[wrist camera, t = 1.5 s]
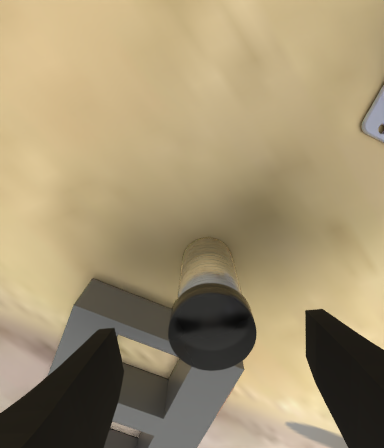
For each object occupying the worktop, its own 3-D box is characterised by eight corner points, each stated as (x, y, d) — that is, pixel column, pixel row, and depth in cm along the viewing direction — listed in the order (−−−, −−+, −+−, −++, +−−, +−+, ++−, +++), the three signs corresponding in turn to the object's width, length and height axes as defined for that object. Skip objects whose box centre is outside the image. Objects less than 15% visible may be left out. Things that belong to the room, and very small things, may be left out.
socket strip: (241, 336, 20) (249, 371, 17) (171, 457, 23) (167, 503, 20) (92, 278, 19) (73, 304, 16) (41, 413, 22) (18, 455, 19)
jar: (245, 247, 18) (272, 316, 11) (220, 293, 19) (232, 381, 12) (192, 225, 18) (189, 282, 11) (170, 273, 19) (155, 353, 12)
